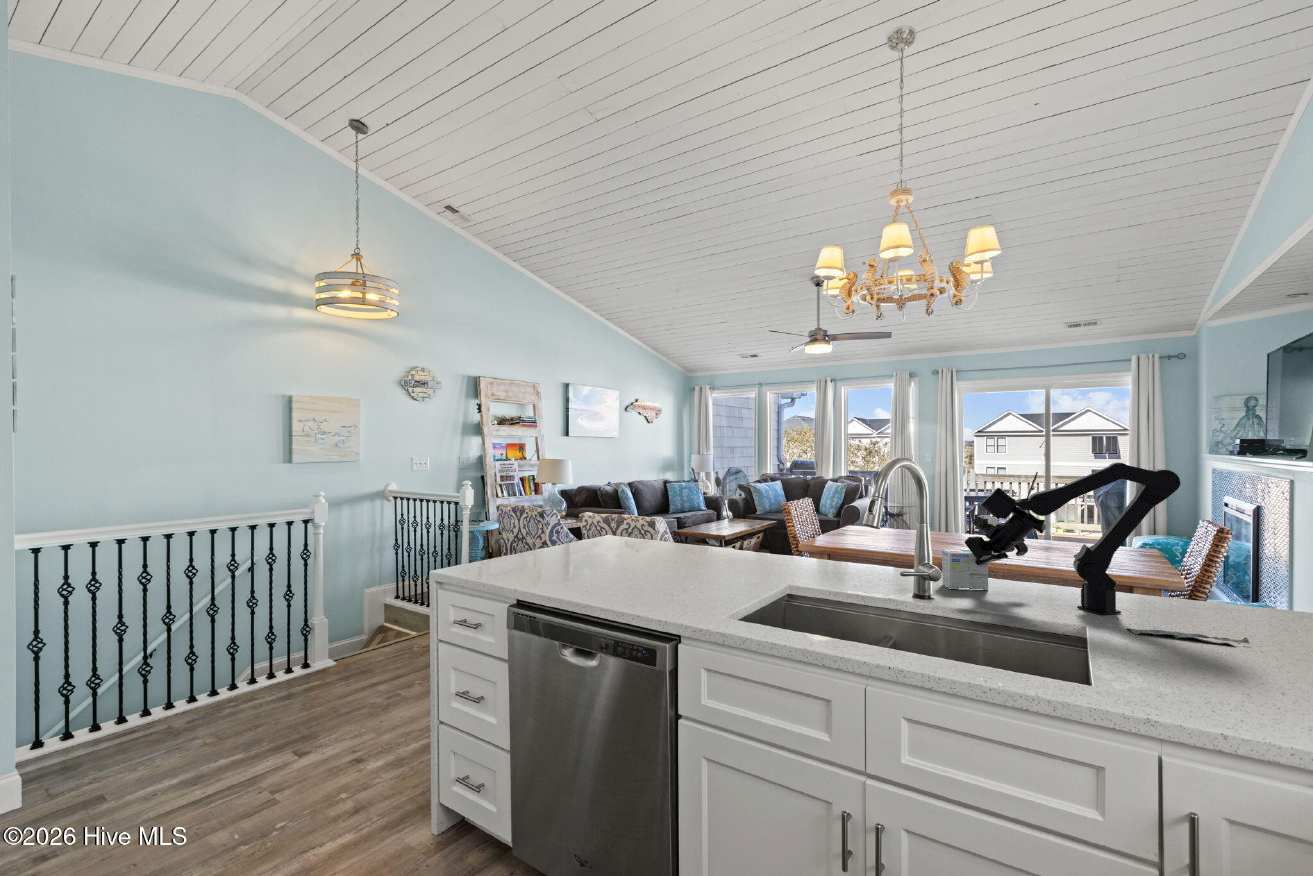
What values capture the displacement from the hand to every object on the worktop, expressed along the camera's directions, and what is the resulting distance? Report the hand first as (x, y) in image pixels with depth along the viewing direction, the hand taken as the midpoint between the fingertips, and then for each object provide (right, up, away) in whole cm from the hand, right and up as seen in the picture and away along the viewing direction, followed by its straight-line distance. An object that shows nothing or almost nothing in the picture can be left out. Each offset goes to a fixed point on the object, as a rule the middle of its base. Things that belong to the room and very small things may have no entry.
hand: (977, 563), depth 168 cm
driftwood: (+23, -8, -41) cm, 48 cm away
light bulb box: (-2, -8, +4) cm, 9 cm away
